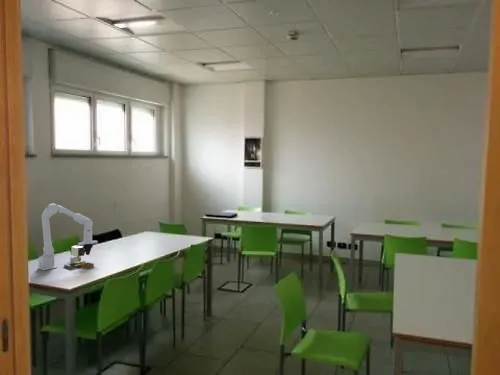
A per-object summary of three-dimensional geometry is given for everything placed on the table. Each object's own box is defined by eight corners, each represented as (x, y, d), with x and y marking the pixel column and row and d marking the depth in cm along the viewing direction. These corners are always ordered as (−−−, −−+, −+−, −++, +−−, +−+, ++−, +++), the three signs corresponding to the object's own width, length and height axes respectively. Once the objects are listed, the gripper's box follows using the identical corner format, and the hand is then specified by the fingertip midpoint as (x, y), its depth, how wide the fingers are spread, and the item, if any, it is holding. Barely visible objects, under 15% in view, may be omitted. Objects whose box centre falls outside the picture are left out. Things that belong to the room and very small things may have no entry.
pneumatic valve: (79, 263, 306) (80, 246, 305) (69, 261, 312) (69, 244, 311) (86, 261, 311) (86, 245, 310) (76, 259, 317) (76, 243, 316)
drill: (72, 268, 291) (72, 258, 291) (69, 267, 293) (69, 257, 293) (76, 267, 294) (76, 257, 293) (73, 266, 296) (73, 256, 295)
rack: (86, 269, 290) (86, 265, 290) (80, 267, 294) (80, 263, 294) (94, 267, 295) (94, 263, 295) (88, 265, 299) (89, 262, 299)
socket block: (70, 269, 288) (70, 266, 288) (64, 267, 293) (64, 264, 292) (81, 267, 294) (81, 264, 294) (74, 265, 299) (74, 262, 299)
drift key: (76, 267, 295) (76, 262, 295) (74, 266, 296) (74, 262, 296) (85, 265, 300) (85, 261, 300) (84, 264, 302) (84, 260, 301)
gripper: (81, 237, 294) (81, 257, 294) (100, 235, 305) (99, 253, 306) (76, 236, 298) (75, 255, 298) (94, 234, 309) (94, 252, 310)
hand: (87, 254), depth 302 cm, fingers closed
